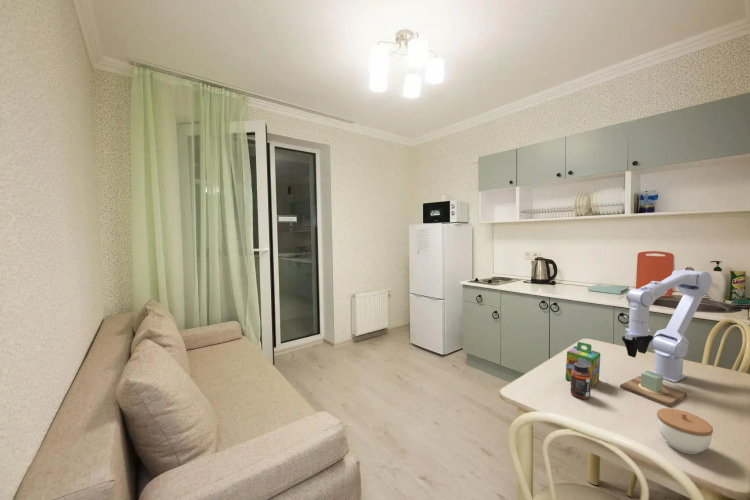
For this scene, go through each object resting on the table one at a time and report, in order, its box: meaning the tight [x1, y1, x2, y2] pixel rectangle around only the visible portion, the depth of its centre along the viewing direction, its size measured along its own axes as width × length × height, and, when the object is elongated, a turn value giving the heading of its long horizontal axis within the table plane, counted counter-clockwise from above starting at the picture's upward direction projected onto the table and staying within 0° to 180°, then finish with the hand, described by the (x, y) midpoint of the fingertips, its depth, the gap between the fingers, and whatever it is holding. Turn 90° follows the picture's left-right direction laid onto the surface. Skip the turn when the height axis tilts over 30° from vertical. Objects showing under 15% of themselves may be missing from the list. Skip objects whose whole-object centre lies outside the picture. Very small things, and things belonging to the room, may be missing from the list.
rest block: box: [640, 370, 664, 392], centre depth 111 cm, size 4×4×5 cm
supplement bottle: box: [570, 363, 592, 400], centre depth 110 cm, size 6×6×11 cm
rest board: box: [619, 375, 688, 408], centre depth 111 cm, size 14×14×1 cm
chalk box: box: [565, 341, 601, 389], centre depth 120 cm, size 9×9×15 cm
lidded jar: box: [656, 407, 714, 455], centre depth 84 cm, size 11×11×9 cm
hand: (636, 354), depth 119 cm, fingers open, 7 cm apart
